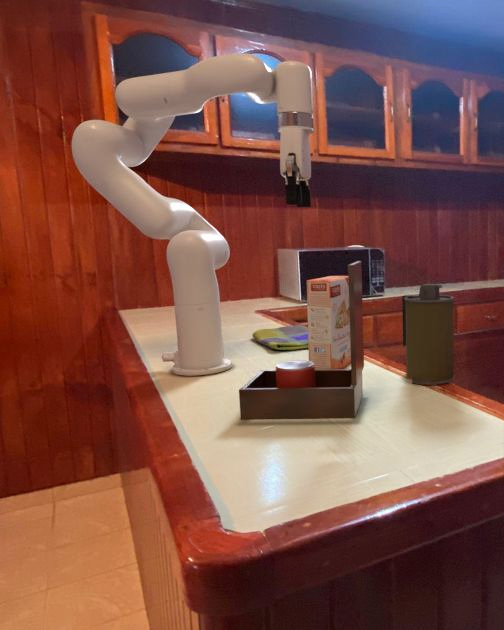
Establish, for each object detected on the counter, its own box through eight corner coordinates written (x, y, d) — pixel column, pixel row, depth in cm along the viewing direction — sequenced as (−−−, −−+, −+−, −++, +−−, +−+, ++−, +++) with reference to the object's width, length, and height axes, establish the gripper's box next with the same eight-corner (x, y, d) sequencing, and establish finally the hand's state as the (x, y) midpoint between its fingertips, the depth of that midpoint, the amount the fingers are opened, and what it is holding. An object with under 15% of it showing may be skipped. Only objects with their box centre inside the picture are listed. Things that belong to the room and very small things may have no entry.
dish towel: (271, 353, 138) (271, 342, 137) (251, 338, 159) (250, 328, 158) (335, 345, 146) (335, 335, 146) (307, 332, 167) (307, 323, 167)
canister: (460, 374, 115) (460, 282, 112) (446, 387, 105) (446, 287, 102) (413, 370, 119) (412, 281, 116) (396, 382, 109) (394, 286, 106)
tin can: (273, 413, 89) (270, 369, 88) (283, 400, 95) (280, 360, 94) (312, 412, 89) (310, 369, 88) (319, 400, 95) (317, 359, 94)
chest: (240, 424, 86) (238, 389, 85) (263, 400, 98) (261, 369, 98) (355, 422, 86) (354, 388, 85) (362, 399, 98) (362, 368, 98)
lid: (347, 265, 82) (353, 265, 82) (356, 261, 95) (361, 261, 95) (351, 385, 85) (356, 385, 85) (359, 366, 98) (364, 366, 98)
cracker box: (334, 376, 114) (331, 280, 111) (308, 375, 116) (304, 279, 113) (354, 361, 128) (352, 275, 125) (331, 360, 129) (328, 274, 126)
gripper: (287, 132, 122) (291, 208, 125) (267, 116, 105) (271, 203, 108) (320, 132, 122) (323, 207, 125) (304, 115, 105) (308, 203, 108)
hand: (299, 205), depth 116 cm, fingers open, 9 cm apart
